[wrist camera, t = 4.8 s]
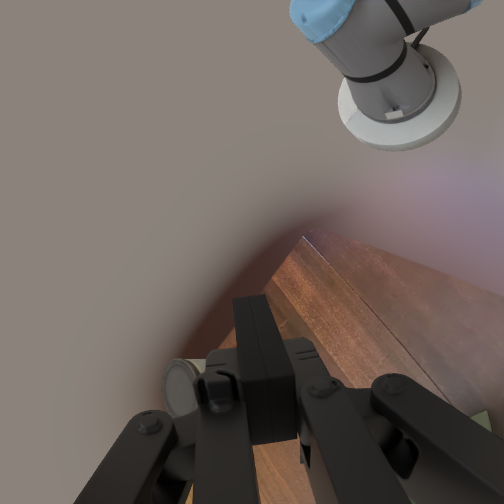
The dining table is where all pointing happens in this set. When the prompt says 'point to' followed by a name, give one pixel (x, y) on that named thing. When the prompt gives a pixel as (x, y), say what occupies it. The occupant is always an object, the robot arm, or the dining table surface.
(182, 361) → the coffee can
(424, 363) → the dining table surface
